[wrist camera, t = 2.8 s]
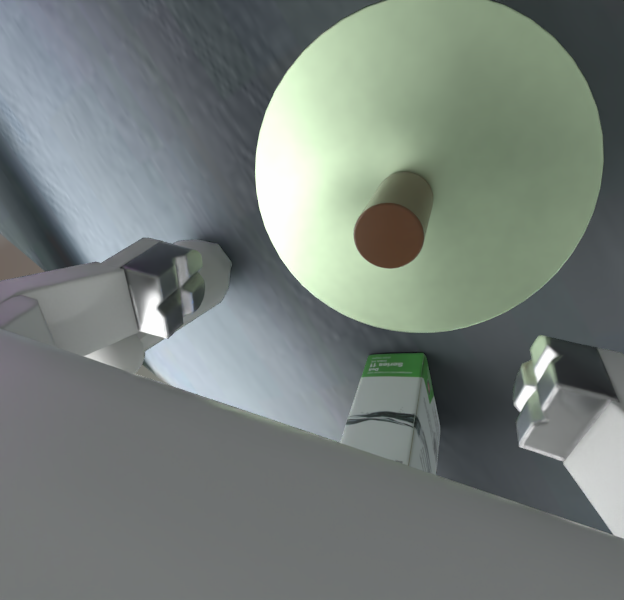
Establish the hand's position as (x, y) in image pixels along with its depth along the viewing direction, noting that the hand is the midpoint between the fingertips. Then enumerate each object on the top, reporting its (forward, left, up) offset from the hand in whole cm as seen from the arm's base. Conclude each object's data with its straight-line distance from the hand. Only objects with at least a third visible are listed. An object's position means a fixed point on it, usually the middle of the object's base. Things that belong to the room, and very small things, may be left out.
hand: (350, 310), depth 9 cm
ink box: (-3, +19, -17) cm, 26 cm away
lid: (0, 0, -9) cm, 9 cm away
